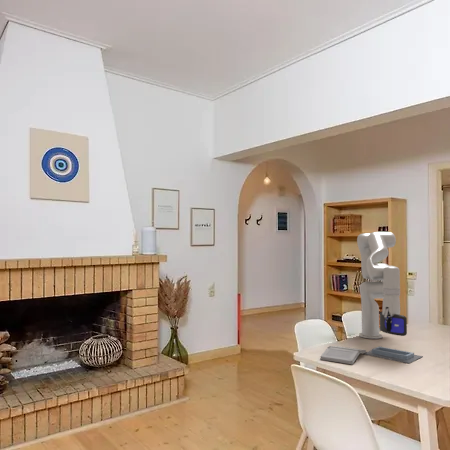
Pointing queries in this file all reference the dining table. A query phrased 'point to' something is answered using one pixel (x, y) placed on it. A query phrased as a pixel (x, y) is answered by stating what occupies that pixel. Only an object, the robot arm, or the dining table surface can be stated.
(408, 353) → the switch cradle
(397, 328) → the leaning round-cornered charcoal block
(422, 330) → the dining table surface
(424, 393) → the dining table surface
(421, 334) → the dining table surface
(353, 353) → the gadget
